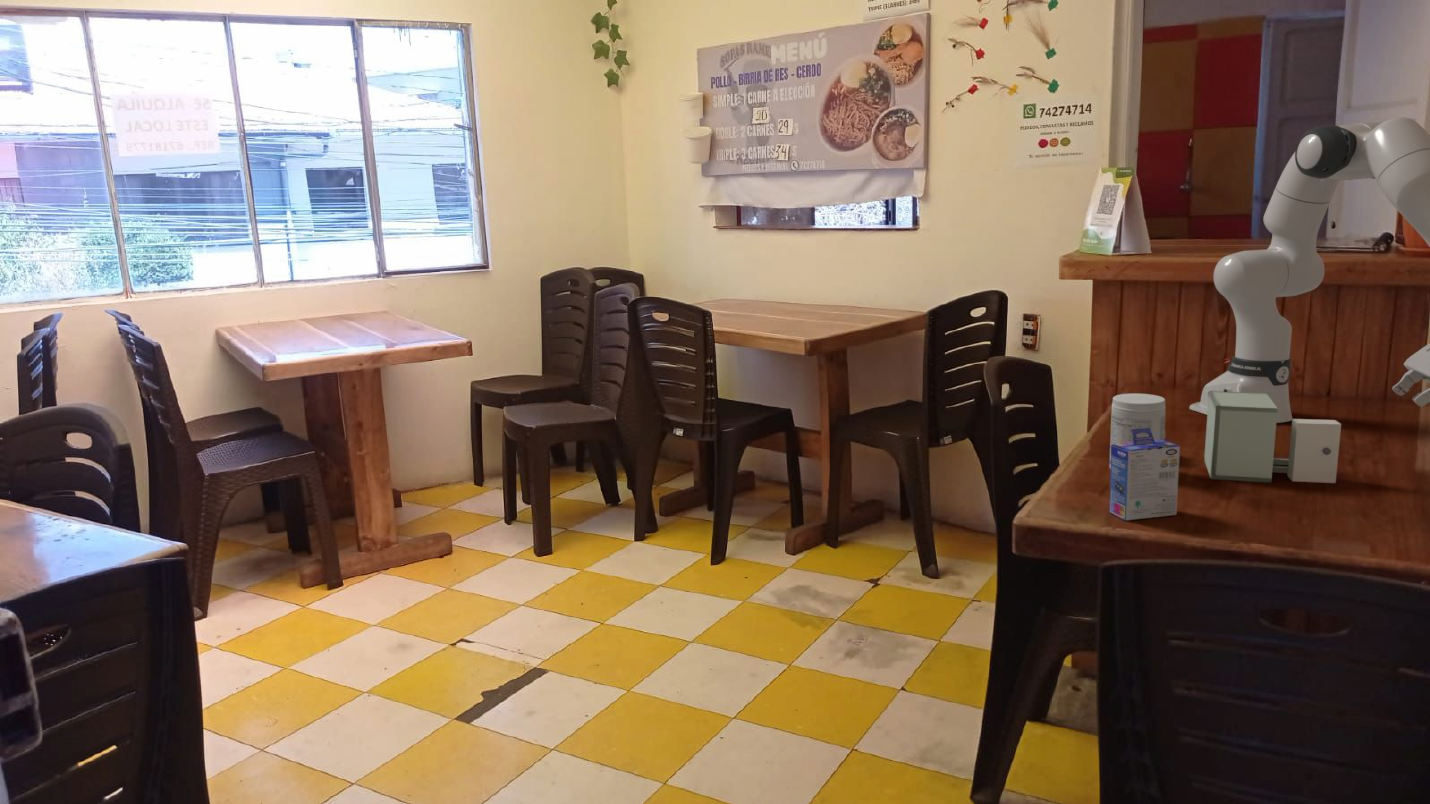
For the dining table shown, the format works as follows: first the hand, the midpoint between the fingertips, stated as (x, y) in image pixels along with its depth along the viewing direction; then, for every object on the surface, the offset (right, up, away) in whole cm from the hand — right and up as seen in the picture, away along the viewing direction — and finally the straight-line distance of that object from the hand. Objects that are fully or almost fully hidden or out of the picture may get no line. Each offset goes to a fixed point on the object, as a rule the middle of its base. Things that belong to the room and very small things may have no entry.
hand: (1405, 397), depth 175 cm
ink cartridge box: (-51, -20, -9) cm, 55 cm away
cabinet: (-19, -14, +13) cm, 27 cm away
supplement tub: (-42, -15, +15) cm, 47 cm away
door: (-13, -15, +7) cm, 21 cm away
